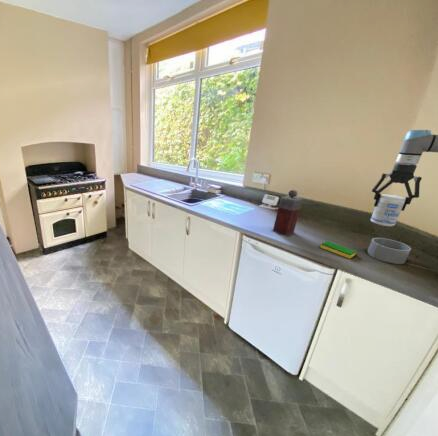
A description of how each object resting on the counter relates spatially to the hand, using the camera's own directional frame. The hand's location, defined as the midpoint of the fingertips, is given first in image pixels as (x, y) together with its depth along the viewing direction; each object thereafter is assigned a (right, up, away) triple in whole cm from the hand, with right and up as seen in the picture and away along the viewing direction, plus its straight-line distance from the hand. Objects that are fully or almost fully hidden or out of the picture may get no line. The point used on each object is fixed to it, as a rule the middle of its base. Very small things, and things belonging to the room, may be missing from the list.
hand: (388, 207), depth 121 cm
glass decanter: (-36, -14, +31) cm, 50 cm away
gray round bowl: (+1, -26, +3) cm, 26 cm away
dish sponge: (-21, -24, +7) cm, 32 cm away
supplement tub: (0, -8, +3) cm, 9 cm away
